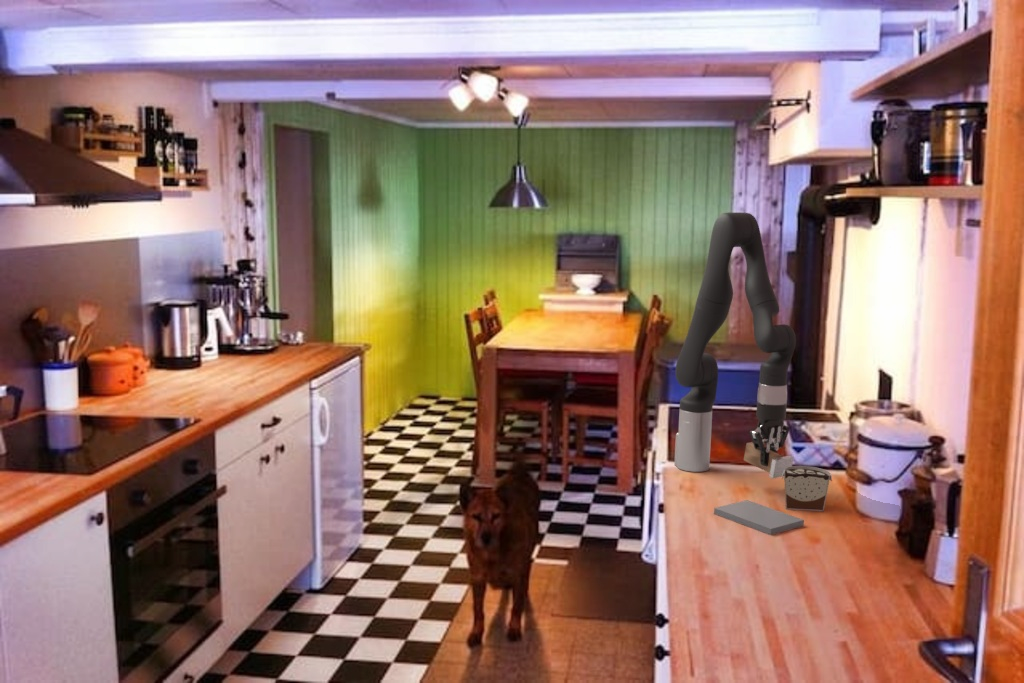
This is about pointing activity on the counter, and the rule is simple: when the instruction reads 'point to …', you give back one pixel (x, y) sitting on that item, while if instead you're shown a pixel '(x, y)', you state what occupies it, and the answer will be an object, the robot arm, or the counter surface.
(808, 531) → the counter surface
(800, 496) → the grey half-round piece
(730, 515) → the grey cutting board
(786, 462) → the brown and grey block
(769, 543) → the counter surface
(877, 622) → the counter surface
